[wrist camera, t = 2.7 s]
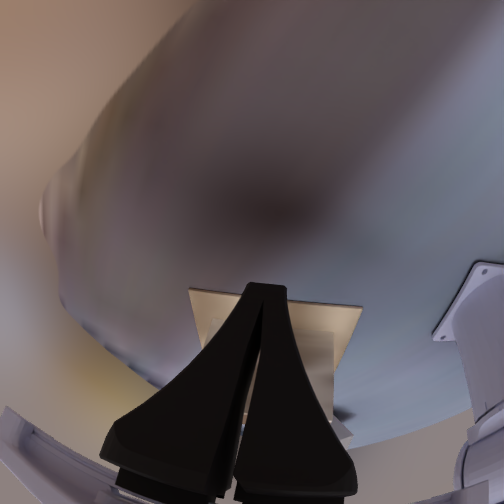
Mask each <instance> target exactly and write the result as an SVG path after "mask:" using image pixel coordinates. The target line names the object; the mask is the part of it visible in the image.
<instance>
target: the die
mask: <svg viewBox="0 0 504 504" xmlns="http://www.w3.org/2000/svg"><path fill="white" fill-rule="evenodd" d="M330 425H331V426H332V428H333V430H334V432H335V433H336V435H337V437H338V439H339V440H340V442H341V443H342V445H343V447H344V448H345V450H346V451H347V449H348V447H349V445H350V442H351V440H352V438H353V436H354V435H353V434H352V433H351V432H350V431H349V430H348V429H347V428H346V427H345V426H344V425H343V424H342V423H341V422H340V421H339V420H338V419H337V418H336V417H335V416H334V415H333V421H332V422H331V423H330Z"/></svg>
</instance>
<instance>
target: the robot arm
mask: <svg viewBox="0 0 504 504" xmlns="http://www.w3.org/2000/svg"><path fill="white" fill-rule="evenodd" d="M432 338H433V340H434V341H456V343H457V346H458V349H459V353H460V356H461V360H462V364H463V368H464V372H465V376H466V380H467V384H468V389H469V393H470V398H471V403H472V408H473V414H474V421H475V425H474V426H472V427H471V428H469V429H467V435H468V440H467V441H466V443H465V444H464V445H463V447H462V448H461V450H460V452H459V455H458V458H457V462H456V465H455V470H454V477H453V485H454V491H452V492H449V493H446V494H443V495H439V496H436V497H432V498H431V499H427V500H423V501H419V502H415V503H410V504H504V265H500V264H492V263H485V262H478V263H476V264H475V265H474V266H473V268H472V270H471V272H470V274H469V276H468V278H467V279H466V281H465V283H464V285H463V287H462V288H461V290H460V292H459V294H458V295H457V297H456V299H455V300H454V302H453V304H452V305H451V307H450V309H449V310H448V312H447V313H446V315H445V317H444V318H443V320H442V321H441V323H440V324H439V326H438V327H437V329H436V330H435V332H434V333H433V335H432ZM259 352H260V356H259ZM258 356H259V362H258V367H257V372H256V377H255V382H254V387H253V392H252V396H251V401H250V406H249V410H248V414H247V419H246V423H245V427H244V432H243V436H242V440H241V444H240V448H239V452H238V456H237V459H236V455H237V449H238V444H239V437H240V433H241V427H242V422H243V416H244V410H245V405H246V400H247V396H248V392H249V389H250V385H251V381H252V378H253V374H254V371H255V367H256V363H257V359H258ZM99 456H100V458H101V459H104V460H106V461H108V462H110V463H112V464H114V465H116V466H119V467H120V469H119V472H115V471H113V470H111V469H108V468H106V467H104V466H102V465H100V464H98V463H96V462H94V461H92V460H90V459H88V458H86V457H84V456H82V455H81V454H79V453H76V452H75V451H73V450H71V449H69V448H68V447H66V446H64V445H63V444H61V443H60V442H58V441H56V440H54V438H53V437H51V436H50V435H48V434H47V433H45V432H43V431H42V430H41V429H39V428H38V427H36V426H35V425H33V424H32V423H30V422H28V421H27V420H25V419H24V418H23V417H21V416H20V415H19V414H17V413H16V412H15V411H13V410H12V409H11V408H9V407H8V406H5V409H4V411H3V413H2V415H1V417H0V461H1V462H2V463H3V464H4V465H5V466H6V467H7V468H8V469H9V470H10V471H11V472H12V473H13V474H14V475H15V476H16V477H17V478H18V480H19V481H20V482H21V483H22V484H23V485H24V486H25V487H26V488H27V489H28V490H29V491H30V492H31V493H32V494H33V495H34V496H35V497H36V498H37V499H38V500H39V501H40V502H41V503H42V504H149V503H146V502H144V501H142V500H138V499H136V498H133V497H129V496H125V495H122V494H120V493H119V491H118V489H119V490H121V491H124V492H126V493H128V494H131V495H133V496H136V497H138V498H141V499H144V500H147V501H149V502H152V503H155V504H216V503H215V500H216V497H218V498H222V499H224V496H225V491H227V490H228V489H230V488H231V484H232V478H233V476H234V477H235V479H236V480H237V486H236V490H235V494H234V500H235V501H239V502H242V504H344V497H346V496H352V495H355V494H356V493H357V489H358V484H357V475H356V470H355V467H354V463H353V461H352V459H351V458H350V456H349V454H348V453H347V451H346V450H345V448H344V447H343V445H342V443H341V442H340V440H339V439H338V437H337V435H336V433H335V432H334V430H333V428H332V426H331V425H330V423H329V421H328V419H327V417H326V415H325V413H324V411H323V409H322V407H321V405H320V403H319V401H318V399H317V397H316V395H315V392H314V390H313V388H312V385H311V383H310V381H309V378H308V376H307V373H306V371H305V368H304V365H303V362H302V359H301V356H300V353H299V350H298V347H297V344H296V340H295V336H294V333H293V329H292V325H291V320H290V315H289V310H288V303H287V288H286V287H285V286H284V285H274V284H265V283H255V282H250V283H248V284H247V286H246V288H245V290H244V292H243V294H242V295H241V297H240V299H239V301H238V302H237V304H236V305H235V307H234V309H233V310H232V312H231V313H230V315H229V316H228V317H227V319H226V320H225V322H224V323H223V325H222V326H221V327H220V329H219V330H218V331H217V333H216V334H215V335H214V336H213V338H212V339H211V340H210V341H209V343H208V344H207V345H206V346H205V347H204V348H203V350H202V351H201V352H200V353H199V354H198V355H197V356H196V357H195V358H194V359H193V360H192V361H191V363H190V364H189V365H188V366H187V367H186V368H184V369H183V370H182V371H181V372H180V373H179V374H178V375H177V376H176V377H175V378H174V379H173V380H172V381H170V382H169V383H168V384H167V385H166V386H165V387H163V388H162V389H161V390H160V391H158V392H157V393H156V394H154V395H153V396H152V397H151V398H149V399H148V400H147V401H145V402H144V403H143V404H141V405H140V406H138V407H137V408H135V409H134V410H132V411H130V412H129V413H128V414H126V415H124V416H123V417H121V418H119V419H118V420H116V421H115V422H114V424H113V425H112V427H111V429H110V430H109V432H108V434H107V436H106V438H105V441H104V444H103V446H102V449H101V451H100V454H99ZM235 461H236V463H235Z"/></svg>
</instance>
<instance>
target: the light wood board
mask: <svg viewBox="0 0 504 504" xmlns="http://www.w3.org/2000/svg"><path fill="white" fill-rule="evenodd" d="M189 295H190V300H191V304H192V309H193V313H194V317H195V322H196V326H197V330H198V334H199V338H200V342H201V346H202V350H203V347H204V344H205V341H206V337H207V334H208V331H209V328H210V325H211V322H212V319H213V318H214V319H221V320H226V319H227V317H228V316H229V315H230V313H231V312H232V310H233V309H234V307H235V305H236V304H237V302H238V301H239V299H240V297H241V295H238V294H230V293H222V292H214V291H207V290H200V289H193V288H189ZM287 303H288V310H289V315H290V320H291V325H292V328H293V329H303V330H314V331H327V332H333V340H334V372H335V370H336V368H337V366H338V364H339V362H340V360H341V358H342V356H343V354H344V351H345V349H346V347H347V345H348V343H349V340H350V338H351V336H352V334H353V331H354V329H355V327H356V324H357V322H358V320H359V317H360V315H361V312H362V310H363V307H357V306H344V305H332V304H321V303H310V302H300V301H290V300H287Z"/></svg>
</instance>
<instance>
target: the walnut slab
mask: <svg viewBox="0 0 504 504" xmlns="http://www.w3.org/2000/svg"><path fill="white" fill-rule="evenodd" d="M224 322H225V320H221V319H214V318H213V319H212V322H211V325H210V328H209V331H208V334H207V337H206V341H205V344H204V347H205V346H206V345H207V344H208V343H209V341H210V340H211V339H212V338H213V336H214V335H215V334H216V333H217V331H218V330H219V329H220V327H221V326H222V325H223V323H224ZM292 329H293V328H292ZM293 333H294V336H295V340H296V344H297V347H298V350H299V353H300V356H301V359H302V362H303V365H304V368H305V371H306V373H307V376H308V378H309V381H310V383H311V385H312V388H313V390H314V392H315V395H316V397H317V399H318V401H319V403H320V405H321V407H322V409H323V411H324V413H325V415H326V417H327V419H328V421H329V423H331V422H332V421H333V393H334V340H333V332H327V331H314V330H303V329H293ZM204 347H203V348H204ZM259 356H260V352H259ZM259 356H258V359H257V363H256V367H255V371H254V374H253V378H252V381H251V385H250V389H249V392H248V396H247V400H246V405H245V410H244V416H243V422H242V424H245V423H246V419H247V414H248V410H249V406H250V401H251V396H252V392H253V387H254V382H255V377H256V372H257V367H258V362H259Z"/></svg>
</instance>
